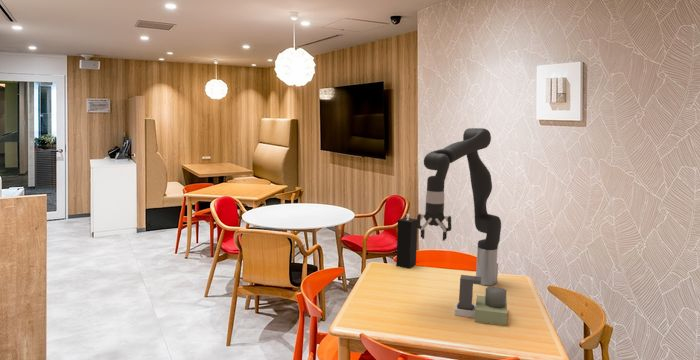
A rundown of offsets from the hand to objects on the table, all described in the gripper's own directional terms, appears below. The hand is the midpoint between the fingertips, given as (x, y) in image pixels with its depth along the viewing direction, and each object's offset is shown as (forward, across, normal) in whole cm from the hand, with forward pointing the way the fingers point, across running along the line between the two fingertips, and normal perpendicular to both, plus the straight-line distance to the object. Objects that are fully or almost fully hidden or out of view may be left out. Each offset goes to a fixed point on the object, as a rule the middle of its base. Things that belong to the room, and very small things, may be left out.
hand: (433, 239), depth 214 cm
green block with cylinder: (+28, -21, +5) cm, 35 cm away
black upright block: (+28, +19, -48) cm, 59 cm away
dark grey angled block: (+28, -16, +5) cm, 33 cm away
